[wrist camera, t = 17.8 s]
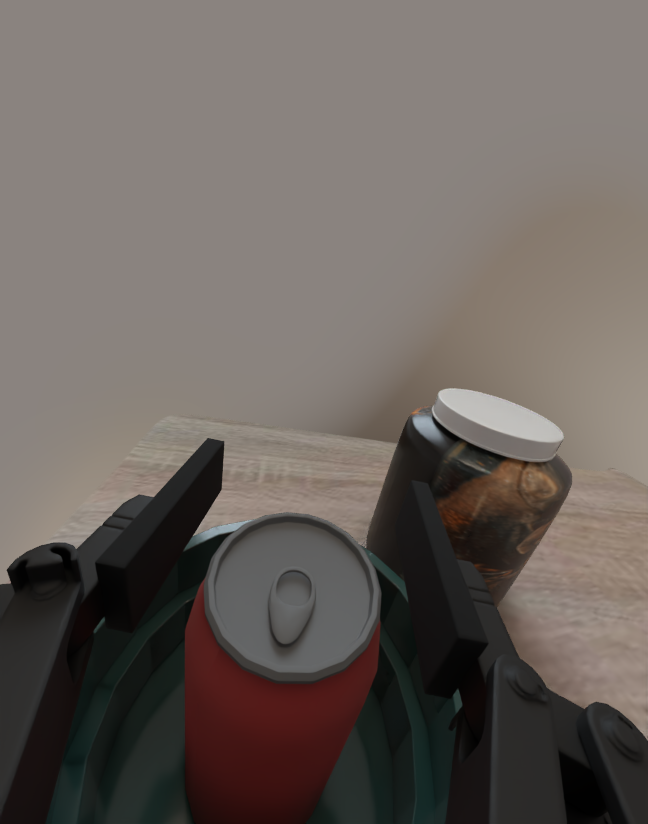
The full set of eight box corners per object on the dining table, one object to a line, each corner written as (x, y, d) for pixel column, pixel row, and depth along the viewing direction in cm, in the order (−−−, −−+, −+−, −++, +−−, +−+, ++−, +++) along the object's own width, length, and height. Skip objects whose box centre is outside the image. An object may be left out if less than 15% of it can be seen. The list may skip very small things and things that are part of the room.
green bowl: (501, 902, 12) (596, 847, 9) (-100, 1643, 5) (-485, 2402, 2) (330, 567, 25) (348, 501, 22) (89, 638, 17) (71, 552, 15)
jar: (338, 533, 28) (380, 383, 22) (418, 500, 35) (467, 378, 29) (444, 662, 20) (559, 478, 14) (522, 587, 26) (621, 440, 20)
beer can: (151, 846, 11) (125, 675, 7) (220, 652, 18) (233, 488, 13) (320, 882, 11) (419, 737, 7) (331, 675, 18) (387, 519, 13)
